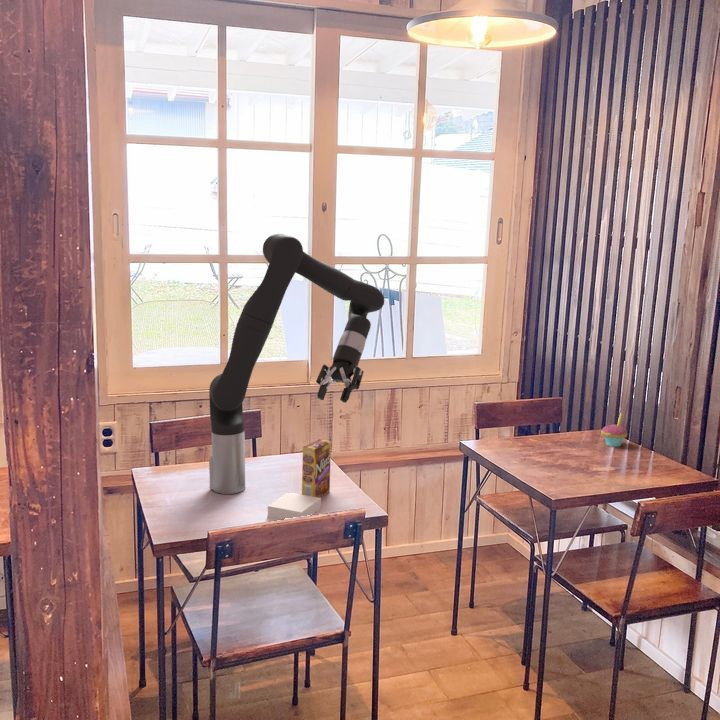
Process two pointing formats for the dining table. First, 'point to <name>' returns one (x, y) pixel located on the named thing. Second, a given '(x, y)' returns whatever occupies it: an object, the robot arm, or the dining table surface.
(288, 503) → the plate
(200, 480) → the dining table surface
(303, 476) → the candy box
